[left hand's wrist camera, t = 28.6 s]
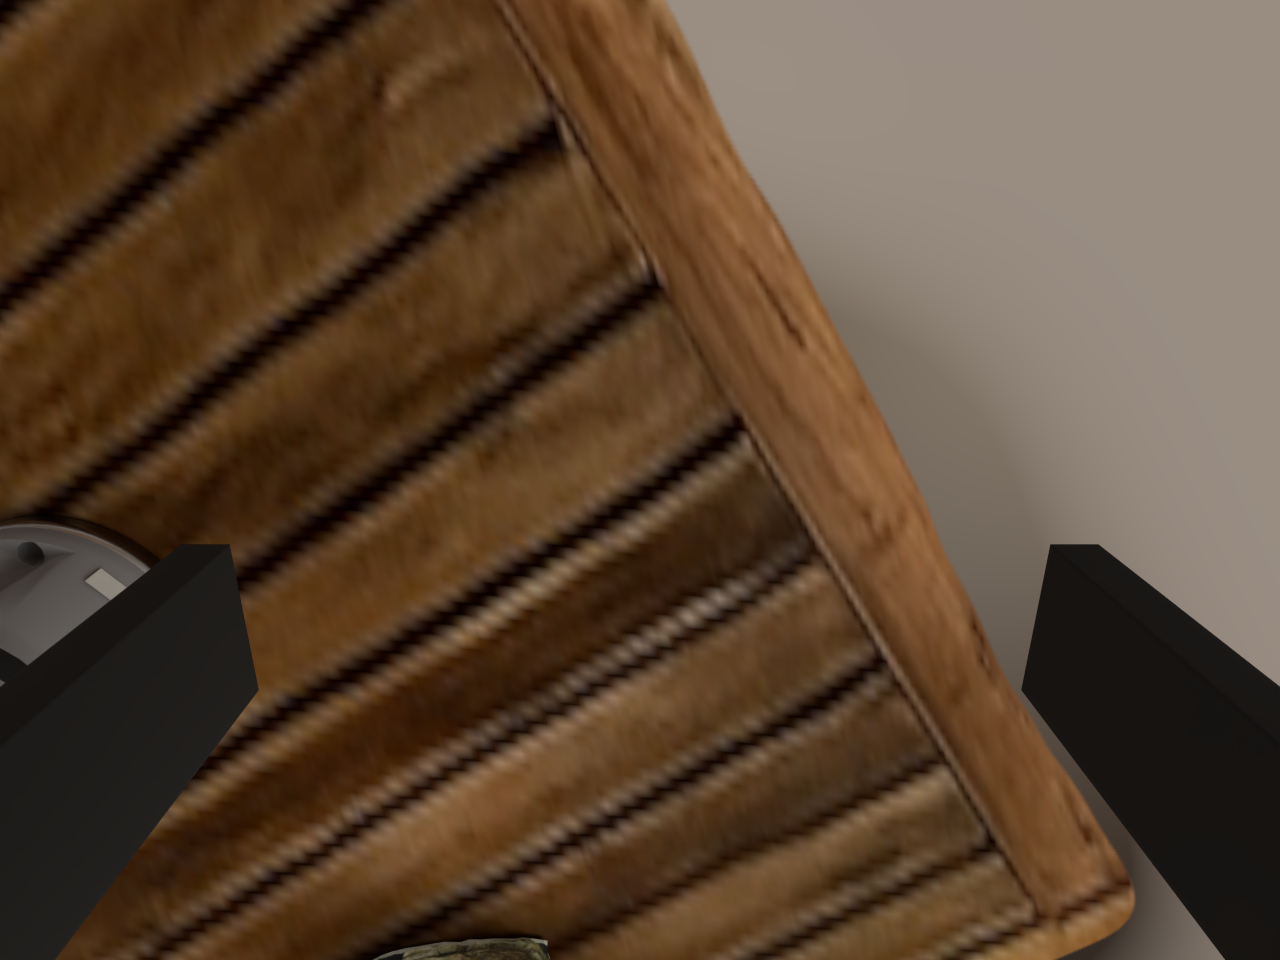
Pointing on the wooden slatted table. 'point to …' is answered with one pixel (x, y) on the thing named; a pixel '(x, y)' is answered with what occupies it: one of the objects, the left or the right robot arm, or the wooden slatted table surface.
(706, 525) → the wooden slatted table surface
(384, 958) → the fossil
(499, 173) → the wooden slatted table surface
